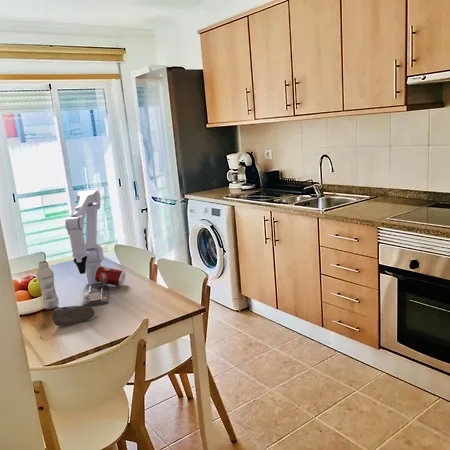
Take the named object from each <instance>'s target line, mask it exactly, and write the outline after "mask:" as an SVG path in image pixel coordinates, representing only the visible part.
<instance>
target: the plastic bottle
mask: <svg viewBox="0 0 450 450" xmlns="http://www.w3.org/2000/svg"><path fill="white" fill-rule="evenodd" d="M37 265H38V266H37V267H38V268H39V269H38V270H37V272H36V279H37V281H38V284H39V288H40V293H41V294H42V295H41V297H42V296H43V306H42V308H44V309H45V310H52V309H53V310H54V309H56V308H58V307H59V304H60V300H59V297H58V295H57V292H56V287H55V278H54V276H55V275H54V270H52V269H51V268H50V267H49V262H48V260H42V261H39V262H37Z"/></svg>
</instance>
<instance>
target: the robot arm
mask: <svg viewBox="0 0 450 450" xmlns="http://www.w3.org/2000/svg"><path fill="white" fill-rule="evenodd" d="M76 200H77V206H75V207H74V208H73V210H72V212H71V214H70V217H67V218H66V219H65V222H64V223H65V229H66V231H67V235H68V236H69V240H70V245H71V246H70V247H71V252H72V254H71V255H72V258H73V263H74V264H75V265H76V267H77V269H78V272H79V274H80V275H83V274H85V275H86V285H85V286H89V285H90V284H91V285H95V284H101V283H100V282H97V281H96V280H95V273H96V270H97V268H98V267H100V266H102V264H101V263H102V262H103V261H104V251H103V247H102V246H101V245H100V244H98V243H97V237H98V236H97V234H98V233H97V231H98V228H97V227H98V226H97V225H98V224H97V223H98V219H97V218H98V210H99V209H100V208H101V193H100V191H99V190H98V189H95V190H84V191H83V190H82V191H78V192H77V194H76ZM85 217H86V219H85ZM85 220H86V221H85ZM85 222H86V224H85ZM85 227H86V228H85ZM84 228H85V229H86V230H85V234H84ZM84 235H86V236H84Z"/></svg>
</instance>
